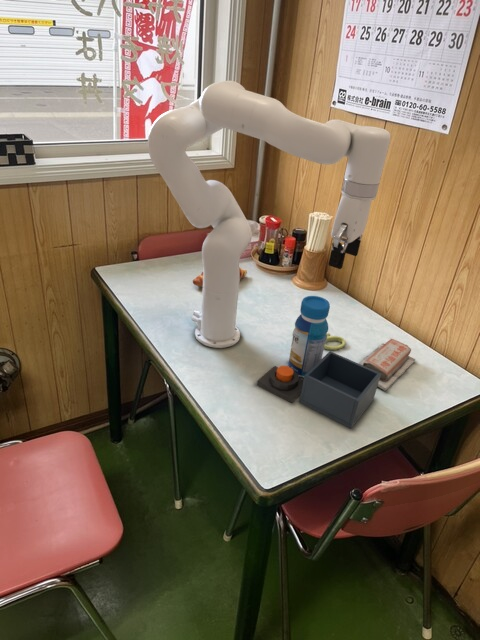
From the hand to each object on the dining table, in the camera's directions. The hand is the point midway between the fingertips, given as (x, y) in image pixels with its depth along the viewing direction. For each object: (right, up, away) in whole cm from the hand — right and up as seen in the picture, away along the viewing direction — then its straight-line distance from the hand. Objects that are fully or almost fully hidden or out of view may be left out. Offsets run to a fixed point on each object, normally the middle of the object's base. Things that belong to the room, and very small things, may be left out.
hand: (343, 260), depth 112 cm
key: (+1, -20, +25) cm, 32 cm away
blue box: (-1, -33, +2) cm, 33 cm away
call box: (-14, -30, +5) cm, 34 cm away
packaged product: (+14, -27, +15) cm, 34 cm away
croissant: (-31, -2, +49) cm, 58 cm away
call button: (-14, -28, +4) cm, 31 cm away
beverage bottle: (-8, -27, +12) cm, 30 cm away
